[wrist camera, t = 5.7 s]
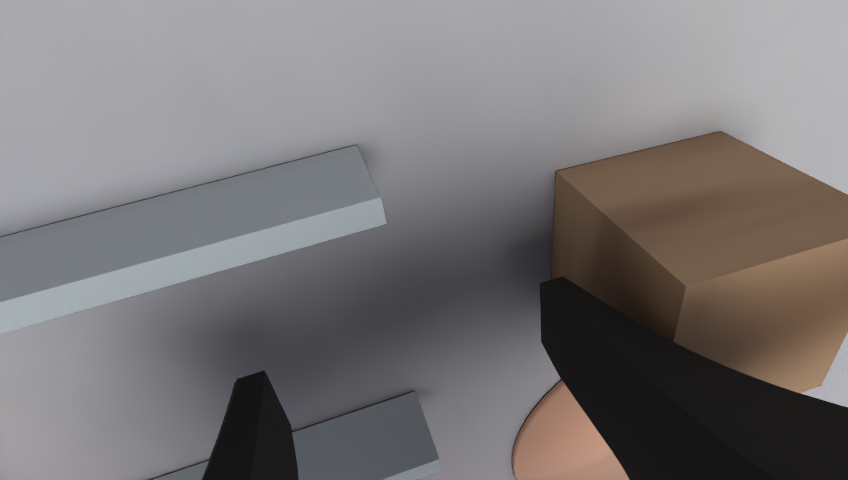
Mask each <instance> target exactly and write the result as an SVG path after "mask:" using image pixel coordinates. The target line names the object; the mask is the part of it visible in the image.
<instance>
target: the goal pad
mask: <svg viewBox="0 0 848 480" xmlns="http://www.w3.org/2000/svg"><path fill="white" fill-rule="evenodd" d="M512 466H513V471H514V475H515V477H516V479H517V480H629V478H628V476H627V474H626V473H625V471H624V469H623V467H622V466H621V464H620V463H619V461H618V460H617V458H616V457H615V455H614V454H613V452H612V450H611V449H610V448H609V446H608V445H607V443H606V442H605V441H604V439H603V438H602V436H601V435H600V433H599V432H598V431H597V429H596V428H595V426H594V425H593V424H592V422H591V421H590V419H589V418H588V416H587V415H586V414H585V412H584V411H583V409H582V408H581V407H580V405H579V404H578V402H577V401H576V399H575V398H574V396H573V395H572V394H571V392H570V391H569V389H568V388H567V386H566V385H565V383H564V382H563V381H562V380H561V381H560V382H559V383H558V384H557V385H556V386H555V387H554V388H553V389H552V390H551V391H550V392H548V393H547V394H546V395H545V397H544V398H543V399H542V400H541V401H540V402H539V403H538V405H537V406H536V407H535V408H534V410H533V411H532V412H531V414H530V415H529V417H528V418H527V419H526V421H525V423H524V425H523V427H522V428H521V430H520V432H519V434H518V437H517V440H516V442H515V445H514V450H513V454H512Z"/></svg>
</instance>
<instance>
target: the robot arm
mask: <svg viewBox="0 0 848 480" xmlns="http://www.w3.org/2000/svg"><path fill="white" fill-rule="evenodd" d="M540 303H541V342H542V344H543V346H544V348H545V350H546V352H547V354H548V355H549V357H550V359H551V361H552V363H553V365H554V367H555V369H556V370H557V372H558V374H559V376H560V378H561V379H562V381H563V382H564V383H565V385H566V386H567V388H568V389H569V391H570V392H571V394H572V395H573V396H574V398H575V399H576V401H577V402H578V404H579V405H580V407H581V408H582V409H583V411H584V412H585V414H586V415H587V416H588V418H589V419H590V421H591V422H592V424H593V425H594V426H595V428H596V429H597V431H598V432H599V433H600V435H601V436H602V438H603V439H604V441H605V442H606V443H607V445H608V446H609V448H610V449H611V450H612V452H613V454H614V455H615V457H616V458H617V460H618V461H619V463H620V464H621V466H622V467H623V469H624V471H625V473H626V474H627V476H628V478H629V480H848V407H844V406H840V405H837V404H833V403H830V402H827V401H823V400H820V399H817V398H813V397H810V396H807V395H803V394H800V393H797V392H794V391H791V390H788V389H785V388H782V387H779V386H776V385H774V384H771V383H768V382H765V381H763V380H760V379H757V378H755V377H752V376H749V375H746V374H744V373H741V372H739V371H736V370H734V369H731V368H729V367H727V366H724V365H722V364H720V363H717V362H715V361H713V360H711V359H708V358H706V357H704V356H702V355H699V354H697V353H695V352H693V351H691V350H689V349H687V348H685V347H683V346H681V345H679V344H677V343H675V342H673V341H671V340H669V339H667V338H665V337H663V336H661V335H659V334H657V333H656V332H654V331H652V330H650V329H648V328H647V327H645V326H643V325H641V324H640V323H638V322H636V321H635V320H633V319H631V318H629V317H628V316H626V315H624V314H623V313H621V312H619V311H618V310H616V309H614V308H613V307H611V306H609V305H608V304H606V303H605V302H603V301H601V300H600V299H598V298H597V297H595V296H594V295H592V294H590V293H589V292H587V291H586V290H584V289H583V288H581V287H579V286H578V285H576V284H575V283H573V282H571V281H570V280H568V279H567V278H565V277H563V276H562V277H559V278H555V279H552V280H549V281H546V282H543V283H540ZM202 480H299V479H298V466H297V459H296V453H295V447H294V441H293V435H292V429H291V424H290V422H289V420H288V418H287V416H286V414H285V412H284V410H283V408H282V406H281V404H280V402H279V399H278V397H277V395H276V393H275V391H274V389H273V387H272V385H271V383H270V381H269V379H268V377H267V374H266V372H265V370H264V371H261V372H258V373H255V374H252V375H248V376H245V377H242V378H239V379H237V381H236V382H235V384H234V387H233V390H232V394H231V397H230V401H229V404H228V407H227V411H226V414H225V417H224V420H223V423H222V426H221V429H220V432H219V435H218V438H217V440H216V443H215V446H214V448H213V451H212V454H211V456H210V459H209V462H208V464H207V467H206V470H205V472H204V475H203V477H202Z"/></svg>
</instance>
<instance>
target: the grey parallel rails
mask: <svg viewBox="0 0 848 480" xmlns="http://www.w3.org/2000/svg"><path fill="white" fill-rule="evenodd" d="M384 224H387V222H386V218H385V213H384V209H383V204H382V200H381V196H380V194H379V192H378V190H377V188H376V186H375V183H374V181H373V179H372V177H371V175H370V173H369V171H368V168H367V166H366V164H365V162H364V160H363V158H362V155H361V153H360V151H359V149H358V147H357V145H354V146H351V147H347V148H343V149H339V150H335V151H331V152H327V153H323V154H320V155H316V156H312V157H308V158H304V159H300V160H296V161H293V162H289V163H285V164H281V165H277V166H273V167H269V168H266V169H262V170H258V171H254V172H250V173H246V174H242V175H239V176H235V177H231V178H227V179H223V180H219V181H215V182H212V183H208V184H204V185H200V186H196V187H192V188H188V189H185V190H181V191H177V192H173V193H169V194H165V195H161V196H158V197H154V198H150V199H146V200H142V201H138V202H134V203H131V204H127V205H123V206H119V207H115V208H111V209H107V210H104V211H100V212H96V213H92V214H88V215H84V216H80V217H77V218H73V219H69V220H65V221H61V222H57V223H53V224H49V225H46V226H42V227H38V228H34V229H30V230H26V231H22V232H19V233H15V234H11V235H7V236H3V237H0V334H1V333H5V332H8V331H12V330H15V329H19V328H22V327H26V326H29V325H33V324H36V323H40V322H43V321H47V320H50V319H54V318H57V317H61V316H64V315H68V314H71V313H75V312H78V311H82V310H85V309H89V308H92V307H96V306H100V305H103V304H107V303H110V302H114V301H117V300H121V299H124V298H128V297H131V296H135V295H138V294H142V293H145V292H149V291H152V290H156V289H159V288H163V287H166V286H170V285H173V284H177V283H180V282H184V281H187V280H191V279H194V278H198V277H202V276H205V275H209V274H212V273H216V272H219V271H223V270H226V269H230V268H233V267H237V266H240V265H244V264H247V263H251V262H254V261H258V260H261V259H265V258H268V257H272V256H275V255H279V254H282V253H286V252H289V251H293V250H296V249H300V248H304V247H307V246H311V245H314V244H318V243H321V242H325V241H328V240H332V239H335V238H339V237H342V236H346V235H349V234H353V233H356V232H360V231H363V230H367V229H370V228H374V227H377V226H381V225H384ZM292 435H293V441H294V447H295V453H296V459H297V466H298V479H299V480H418V479H421V478H424V477H427V476H429V475H432V474H435V473H438V472H441V471H442V468H441V464H440V459H439V456H438V454H437V451H436V448H435V445H434V442H433V439H432V437H431V434H430V431H429V428H428V425H427V423H426V420H425V417H424V414H423V411H422V408H421V406H420V403H419V400H418V397H417V394H416V391H414V392H412V393H409V394H406V395H403V396H400V397H397V398H394V399H391V400H388V401H385V402H382V403H379V404H376V405H373V406H370V407H367V408H364V409H361V410H358V411H355V412H352V413H349V414H346V415H343V416H340V417H337V418H334V419H331V420H328V421H325V422H322V423H319V424H316V425H313V426H310V427H307V428H304V429H301V430H298V431H295V432H292ZM208 462H209V461H206V462H203V463H200V464H197V465H194V466H191V467H188V468H185V469H182V470H179V471H176V472H173V473H170V474H167V475H164V476H161V477H158V478H155V479H152V480H202V477H203V475H204V472H205V470H206V467H207V464H208Z"/></svg>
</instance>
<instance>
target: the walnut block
mask: <svg viewBox="0 0 848 480" xmlns="http://www.w3.org/2000/svg"><path fill="white" fill-rule="evenodd" d="M562 276H563V277H565V278H567V279H568V280H570V281H571V282H573V283H575V284H576V285H578V286H579V287H581V288H583V289H584V290H586V291H587V292H589V293H590V294H592V295H594V296H595V297H597V298H598V299H600V300H601V301H603V302H605V303H606V304H608V305H609V306H611V307H613V308H614V309H616V310H618V311H619V312H621V313H623V314H624V315H626V316H628V317H629V318H631V319H633V320H635V321H636V322H638V323H640V324H641V325H643V326H645V327H647V328H648V329H650V330H652V331H654V332H656V333H657V334H659V335H661V336H663V337H665V338H667V339H669V340H671V341H673V342H675V343H677V344H679V345H681V346H683V347H685V348H687V349H689V350H691V351H693V352H695V353H697V354H699V355H702V356H704V357H706V358H708V359H711V360H713V361H715V362H717V363H720V364H722V365H724V366H727V367H729V368H731V369H734V370H736V371H739V372H741V373H744V374H746V375H749V376H752V377H755V378H757V379H760V380H763V381H765V382H768V383H771V384H774V385H776V386H779V387H782V388H785V389H788V390H791V391H794V392H797V393H801V392H804V391H807V390H810V389H813V388H815V387H818V386H821V385H822V383H823V381H824V379H825V377H826V375H827V373H828V371H829V369H830V367H831V365H832V362H833V360H834V358H835V356H836V354H837V352H838V350H839V348H840V346H841V344H842V342H843V340H844V338H845V336H846V334H847V332H848V195H847V194H845V193H843V192H841V191H839V190H837V189H835V188H833V187H831V186H829V185H827V184H825V183H823V182H821V181H819V180H817V179H815V178H813V177H811V176H809V175H807V174H805V173H803V172H801V171H799V170H797V169H795V168H793V167H791V166H789V165H787V164H785V163H783V162H781V161H779V160H777V159H775V158H773V157H771V156H769V155H767V154H765V153H764V152H762V151H760V150H758V149H756V148H754V147H752V146H750V145H748V144H746V143H744V142H742V141H740V140H738V139H736V138H734V137H732V136H730V135H728V134H726V133H724V132H722V131H719V132H715V133H711V134H707V135H703V136H698V137H694V138H690V139H686V140H682V141H678V142H674V143H670V144H666V145H662V146H657V147H653V148H649V149H645V150H641V151H637V152H633V153H629V154H625V155H620V156H616V157H612V158H608V159H604V160H600V161H596V162H592V163H588V164H583V165H579V166H575V167H571V168H567V169H563V170H559V171H556V181H555V204H554V226H553V248H552V270H551V280H552V279H555V278H559V277H562Z"/></svg>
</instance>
